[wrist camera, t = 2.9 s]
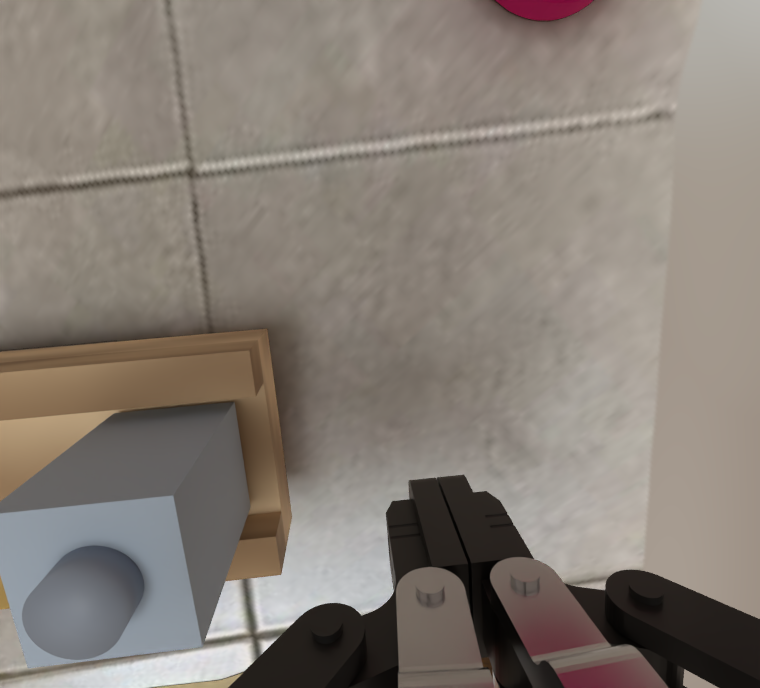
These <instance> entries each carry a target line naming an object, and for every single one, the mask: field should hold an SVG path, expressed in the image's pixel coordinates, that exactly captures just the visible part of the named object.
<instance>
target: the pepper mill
mask: <svg viewBox="0 0 760 688" xmlns="http://www.w3.org/2000/svg"><path fill="white" fill-rule="evenodd" d="M495 1H496V2H498V3H499V4H500V5H501V6H503V7H504V8H505V9H507V10H508V11H510V12H512V13H514V14H516V15H518V16H521V17H524V18H527V19H532V20H557V19H561V18H564V17H567V16H570V15H572V14H574V13H576V12H578V11H580V10H581V9H583V8H585V7H586V6H587V5H589V4H590V3H591V2H592V1H594V0H495Z"/></svg>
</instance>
